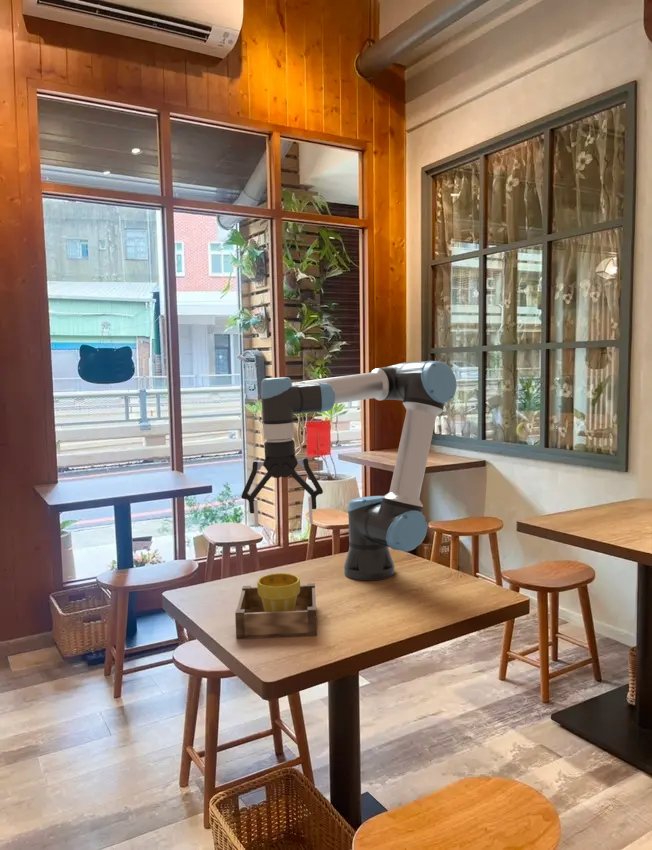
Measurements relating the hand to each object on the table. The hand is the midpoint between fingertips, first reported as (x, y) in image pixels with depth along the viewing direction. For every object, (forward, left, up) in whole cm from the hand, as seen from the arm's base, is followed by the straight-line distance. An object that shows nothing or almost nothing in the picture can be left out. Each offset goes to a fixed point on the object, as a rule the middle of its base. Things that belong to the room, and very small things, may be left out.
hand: (284, 524), depth 162 cm
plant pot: (+2, +5, -22) cm, 23 cm away
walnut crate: (+2, +6, -23) cm, 24 cm away
